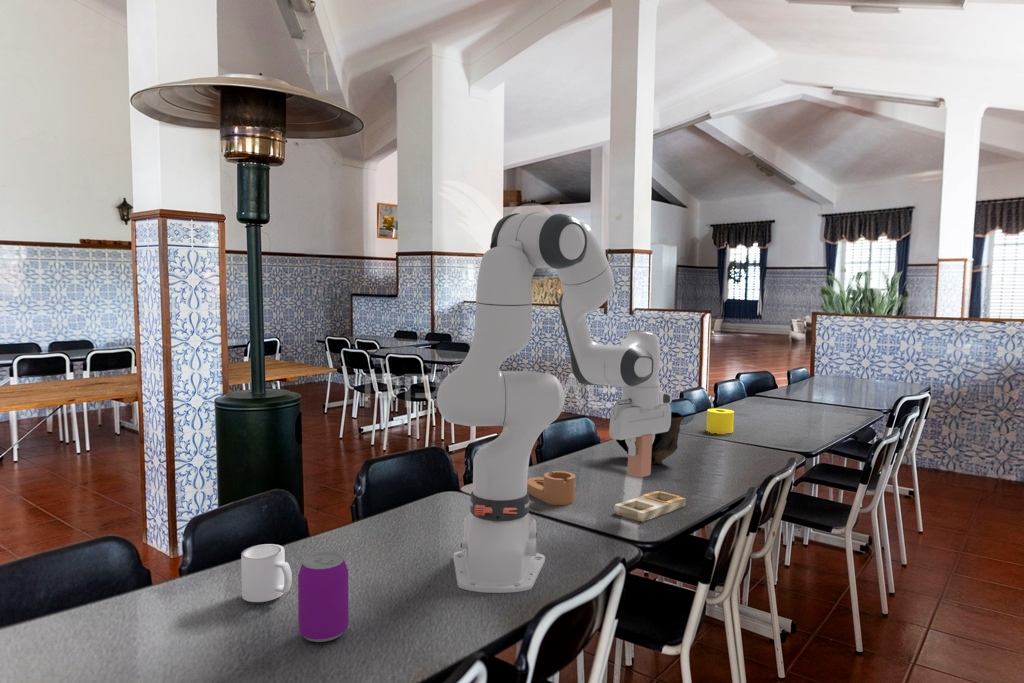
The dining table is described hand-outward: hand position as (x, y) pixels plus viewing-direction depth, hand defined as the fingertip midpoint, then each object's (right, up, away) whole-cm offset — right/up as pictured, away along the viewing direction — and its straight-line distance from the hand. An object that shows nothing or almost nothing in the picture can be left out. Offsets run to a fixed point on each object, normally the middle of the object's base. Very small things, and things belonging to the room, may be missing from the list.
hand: (640, 453), depth 165 cm
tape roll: (+50, -9, +99) cm, 111 cm away
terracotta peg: (0, -5, 0) cm, 5 cm away
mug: (-75, -18, -44) cm, 89 cm away
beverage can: (-61, -19, -57) cm, 86 cm away
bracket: (-21, -14, +17) cm, 31 cm away
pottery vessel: (+12, -12, +53) cm, 55 cm away
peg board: (+4, -15, +5) cm, 16 cm away
